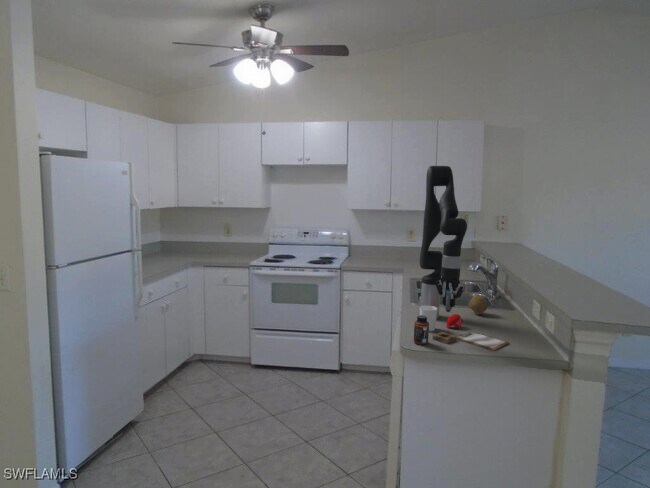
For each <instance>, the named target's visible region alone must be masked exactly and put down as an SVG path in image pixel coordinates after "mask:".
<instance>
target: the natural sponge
mask: <svg viewBox="0 0 650 488" xmlns="http://www.w3.org/2000/svg"><path fill="white" fill-rule="evenodd" d="M468 308H469V309H470V310H472V311H473V313H475V314H476V315H478V316H480V315H482V314H483V313H484V312H486V311H487V309H488V301H487V299H486V298H485V297H484V296H482V295H479V294H478V295H475V296H473V297H472V298H471V299H470V301H468Z"/></svg>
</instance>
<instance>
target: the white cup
mask: <svg viewBox="0 0 650 488" xmlns="http://www.w3.org/2000/svg"><path fill="white" fill-rule="evenodd" d="M420 315H423V316H426V317H427V322H428V323H429V332H434V331H435V330H436V325H437V319H438V318H437V308H436V307H434V306H420ZM436 318H437V319H436Z"/></svg>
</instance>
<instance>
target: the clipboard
mask: <svg viewBox="0 0 650 488" xmlns="http://www.w3.org/2000/svg"><path fill="white" fill-rule="evenodd" d="M456 341H461V342H464V343H466V344H470V345H474V346H477V347H479V348H483V349H486V350H489V351H493V352H495V351H497V350H499V349H501V348H504V347H506V346H508V345H510V341H506V340H503V339H499V338H495V337H492V336H490V335H489V336H488V335H486V334H481V333H479V332H475V331H471V330H470V331H465V332H463V333H460V334H459V335H456Z"/></svg>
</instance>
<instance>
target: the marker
mask: <svg viewBox="0 0 650 488" xmlns="http://www.w3.org/2000/svg"><path fill="white" fill-rule="evenodd" d="M450 299H451V294H450V290H446V304H445V306H444V309H445V312H446V313H450V312H451V311H452V309H453V307H452V308H451V307H450Z"/></svg>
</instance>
